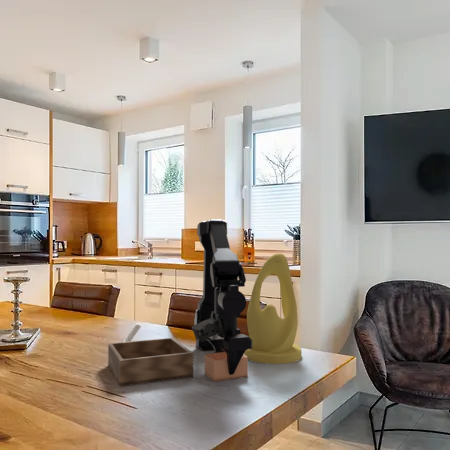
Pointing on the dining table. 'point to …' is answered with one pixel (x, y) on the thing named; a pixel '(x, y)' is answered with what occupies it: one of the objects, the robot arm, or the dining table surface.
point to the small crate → (224, 367)
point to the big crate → (149, 361)
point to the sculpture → (273, 318)
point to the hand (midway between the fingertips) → (225, 370)
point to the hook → (133, 332)
